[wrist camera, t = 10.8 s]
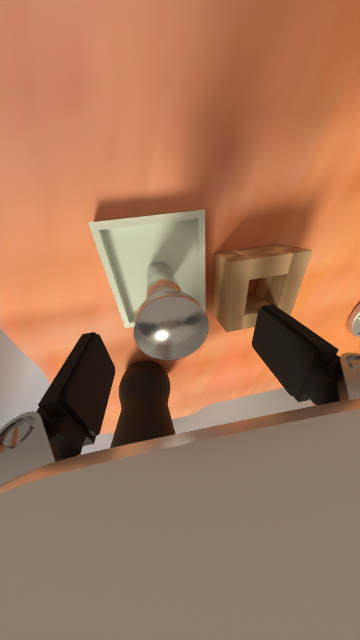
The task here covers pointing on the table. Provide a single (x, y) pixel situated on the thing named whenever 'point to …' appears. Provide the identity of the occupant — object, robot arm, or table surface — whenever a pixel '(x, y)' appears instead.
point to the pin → (168, 317)
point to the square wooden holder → (273, 282)
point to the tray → (151, 255)
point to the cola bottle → (143, 405)
